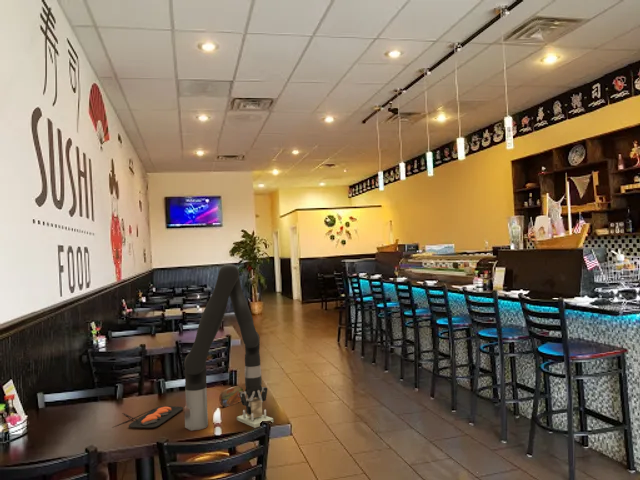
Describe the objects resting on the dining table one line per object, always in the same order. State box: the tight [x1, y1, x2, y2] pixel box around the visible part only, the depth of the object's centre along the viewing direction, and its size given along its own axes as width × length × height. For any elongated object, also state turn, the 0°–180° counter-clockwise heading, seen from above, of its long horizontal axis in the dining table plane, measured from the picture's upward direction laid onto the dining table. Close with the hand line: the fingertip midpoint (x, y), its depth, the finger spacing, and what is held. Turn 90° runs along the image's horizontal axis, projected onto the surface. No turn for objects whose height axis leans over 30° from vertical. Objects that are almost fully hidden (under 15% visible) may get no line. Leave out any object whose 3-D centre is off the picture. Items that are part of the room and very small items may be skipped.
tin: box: [218, 385, 245, 408], centre depth 256 cm, size 15×3×8 cm, turn 143°
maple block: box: [246, 397, 263, 418], centre depth 228 cm, size 5×5×7 cm
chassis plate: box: [236, 409, 274, 429], centre depth 228 cm, size 10×15×5 cm, turn 40°
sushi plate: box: [111, 405, 184, 429], centre depth 239 cm, size 29×30×4 cm
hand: (254, 412), depth 228 cm, fingers closed on maple block, 5 cm apart
